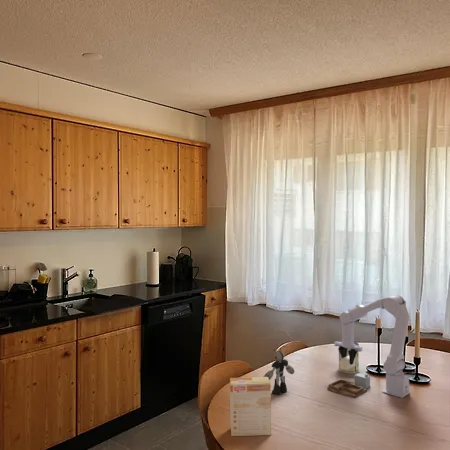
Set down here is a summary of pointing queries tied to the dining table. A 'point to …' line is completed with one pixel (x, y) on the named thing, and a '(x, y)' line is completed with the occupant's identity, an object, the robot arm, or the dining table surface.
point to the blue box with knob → (362, 380)
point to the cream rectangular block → (347, 363)
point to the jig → (346, 388)
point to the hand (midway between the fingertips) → (348, 363)
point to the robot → (279, 373)
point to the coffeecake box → (250, 406)
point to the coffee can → (353, 369)
